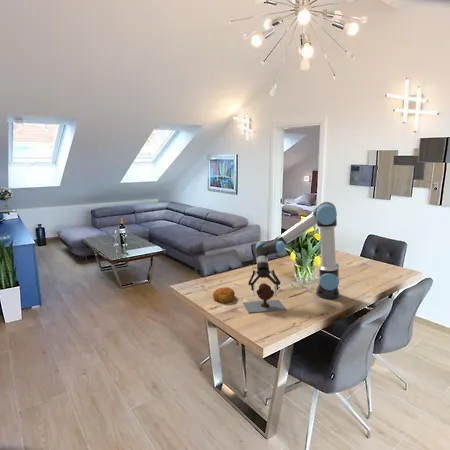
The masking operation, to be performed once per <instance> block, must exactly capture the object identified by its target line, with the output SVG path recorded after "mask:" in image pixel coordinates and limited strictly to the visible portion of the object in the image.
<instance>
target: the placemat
mask: <svg viewBox="0 0 450 450" xmlns="http://www.w3.org/2000/svg"><path fill="white" fill-rule="evenodd" d="M262 303H264V300H257V301H246V302H245V301H244V302H242V304H243V306H244V307H245V310H246V311H247V312H248V314H254V313H255V314H256V313H266V312H267V313H269V312H277V311H278V312H280V311H287V308H286V306H285V305H284V303H282V301H281V300H279V299H269V300H267V301H266V303H267V304H269V307H267V308H265V307H261V304H262Z"/></svg>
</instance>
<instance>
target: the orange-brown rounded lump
mask: <svg viewBox="0 0 450 450" xmlns="http://www.w3.org/2000/svg"><path fill="white" fill-rule="evenodd" d="M235 293H236V292H235V290H234V289H232V288H230V287H226V286H225V287H220V288H218V289H215V290H214V291H213V293H212V297H213V300H214V301H216V302H217V303H219V302H220V303H224V304H229V303H231V301H232V300H233V299H234V297H235V295H236V294H235Z"/></svg>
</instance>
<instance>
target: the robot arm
mask: <svg viewBox="0 0 450 450" xmlns="http://www.w3.org/2000/svg"><path fill="white" fill-rule="evenodd" d="M337 216H338V213H337V208H336V206H335V204H334V203H332V202H329V201H324V202H321V203H320V204H319V205H318V206H317V207H316V208H314V209H313V210H312V211H311V213H310V214H309V215H307V216H306V217H305V218H303V219H301V220H300V221H299V222H297V223H296V224H294V225H293V226H291V227H290V228H289V229H287V230H285V232H283V233H281V235H279V236H277V237H275V238H274V240H273V241H272V242H270V243H267V242H265V241H258V242H256V243H255V256H256V268H257V270H254V269H253V270H252V273H251V277H250V278H249V281H248V283H247V285H248V286H250V288H251V292H252V291H253V292H252V293H253V297H255V296H256V287H255V286H256V285H255V284H256V283H257V281H258V280H259V279H260V278H261V279H266V278H267V279H268V280H269V281H270V282H271V283H272V284H273V286H274V296H275V297H277V296H278V291H279V286H280V285H281V281H280V279H279V278H278V276H277V275H276V273H275V270H274V269H272V270H270V268H269V267H270V266H269V256H272V255H276V254H282V253H285V252H286V245H288V244H290V243H291V242H292V241H293V240H296V239H297V238H298V237H300V236H301V235H303V234H304V233H305V232H308V231H309V230H310V229H311V228H313V227H315V226H316V225H317V227H318V228H319V233H320V234H319V237H320V240H319V241H320V258H321V262H320V266H319V268H318V270H319V271H318V273H319V274H318V275H319V280H318V286H317V288H316V290H315V294H316V295H317V296H318V297H319V298H321V299H325V300H336V299H339V297H340V291H339V288H338V286H339V284H340V277H339V276H340V275H339V269H340V266H339V264H338V263H337V261H336V241H335V240H336V238H335V235H336V234H335V228H336V227H337V225H338V224H337V223H338V221H337V220H338V219H337ZM256 274H257V276H256V278H255V279H254V277H255V275H256ZM271 275H272V276H271Z"/></svg>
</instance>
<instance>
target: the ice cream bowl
mask: <svg viewBox="0 0 450 450" xmlns="http://www.w3.org/2000/svg"><path fill="white" fill-rule="evenodd" d="M256 294H257V296H258V298H259V299H261V301H264V303H262V304H261V307H265V308H267V307H269V304H267V303H266V301H269V300H271V299H272V298H273V297H274V296H275V290H273V289H272V287H271V286H270V285H269V284H267V283H266V282H263V283H261V284H259V286H258V289H257V290H256Z"/></svg>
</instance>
